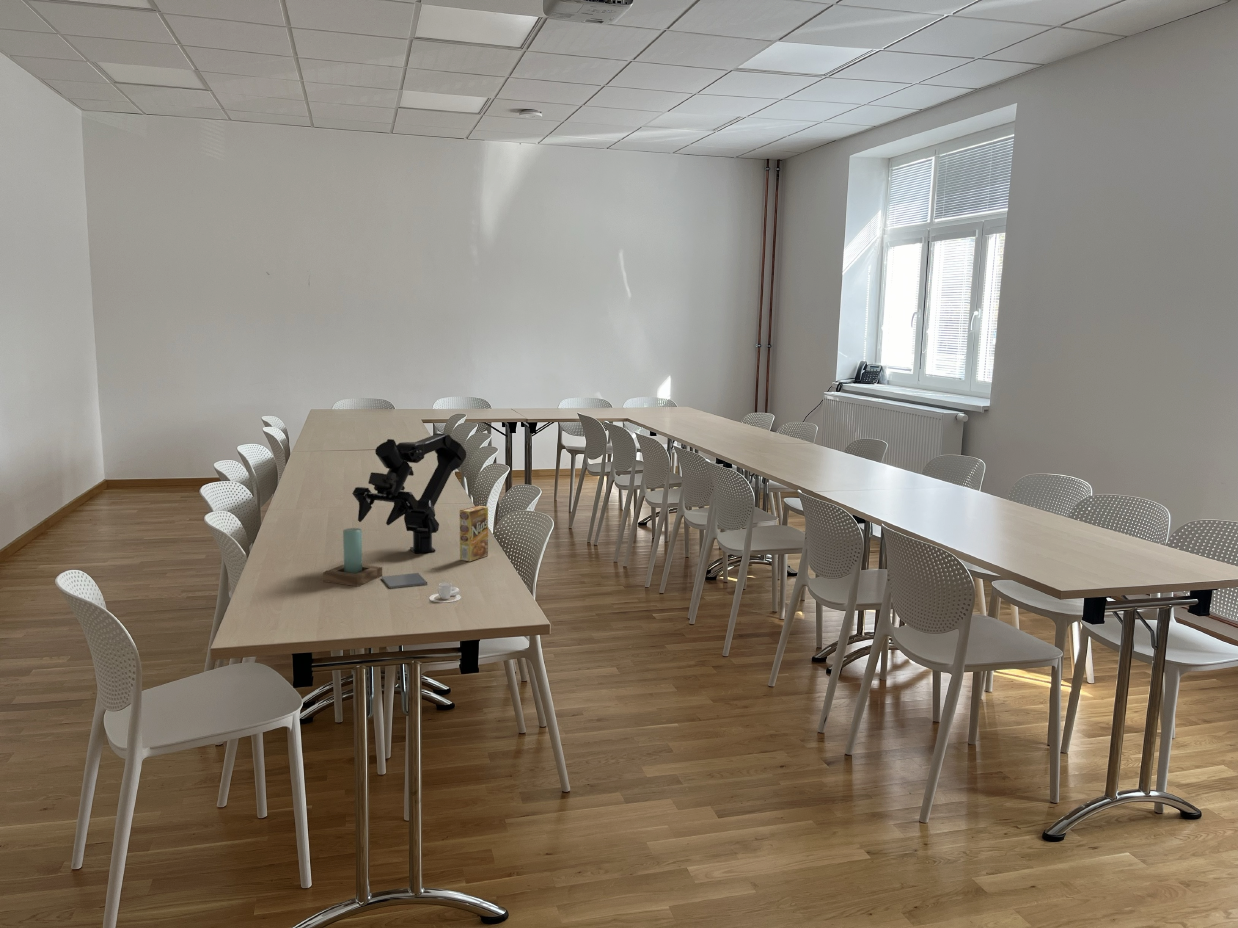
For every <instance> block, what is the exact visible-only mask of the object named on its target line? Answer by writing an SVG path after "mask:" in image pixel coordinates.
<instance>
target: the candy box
mask: <svg viewBox="0 0 1238 928" xmlns="http://www.w3.org/2000/svg"><path fill="white" fill-rule="evenodd" d="M488 556H489V507H488V506H483V505H476V506H471V507H469V508H468V507H467V508H464V509H460V510H459V560H460V561H467V562H472V561H475V560H479V559H481V558H486V557H488Z"/></svg>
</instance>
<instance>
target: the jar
mask: <svg viewBox="0 0 1238 928" xmlns="http://www.w3.org/2000/svg"><path fill="white" fill-rule="evenodd" d="M362 533H363V531H362V529H361V528H358V527H357V528H356V527H351V528H345V529H343V530H342V538H343V539H342V541H343V542H342V543H343V544H342V545H343V548H342V549H343V565H344V572H346V573H353V574H357V573H359V572H362V564H363V538H362Z"/></svg>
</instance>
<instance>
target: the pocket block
mask: <svg viewBox="0 0 1238 928" xmlns="http://www.w3.org/2000/svg"><path fill="white" fill-rule="evenodd" d="M322 574H323V575H322V577H323V582H327V583H335V584H340V585H349V586H352V587H353V586H354V587H359V586H360V587H361V585H365V584H366V583H369V582H372V581H373V580H376V579H378V578H382V576H383V566H378V565H368V564H363V563H362V572H359V573H357V574H353V573H346V572H344V564H341V565H339V566H336V567H334V568H331V569H328V570H326V571H323V573H322Z"/></svg>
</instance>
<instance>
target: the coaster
mask: <svg viewBox="0 0 1238 928" xmlns="http://www.w3.org/2000/svg"><path fill="white" fill-rule="evenodd" d="M381 580H382V581H383V582H384V583H385V585H386V586H387V587H388V588H389V589H390V590H391V589H398V588H399V589H400V588H407V587H409V588H410V587H417V586H426V585H428V581H427V580H426V579H424V577H423V576H422V575H421V574H420V573H419V572H415V573H414V572H413V573H405V574H403V573H402V574H396V575H395V574H394V575H384V576H383V575H382V576H381Z"/></svg>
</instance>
